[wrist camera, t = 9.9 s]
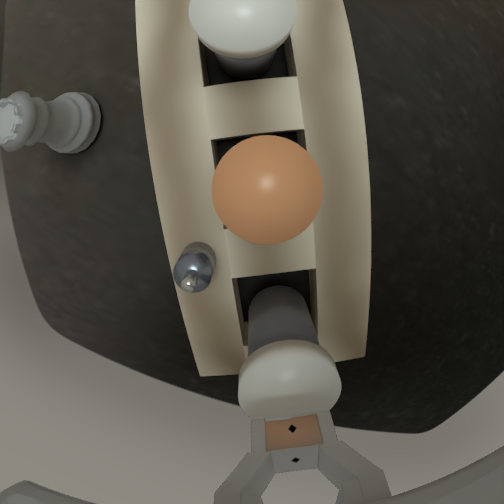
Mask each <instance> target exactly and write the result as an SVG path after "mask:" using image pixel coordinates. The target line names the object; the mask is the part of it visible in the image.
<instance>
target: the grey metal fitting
mask: <svg viewBox="0 0 504 504" xmlns="http://www.w3.org/2000/svg"><path fill="white" fill-rule="evenodd" d="M215 262H216V255H215V252H214V250H213V249H212V248H211V247H210V246H209V245H208V244H206V243H203V242H192V243H190V244H188V245H187V246H186V247H185V248H184V250H183V252H182V254H181V255H180V257H179V259H178V261H177V263H176V265H175V266H174V269H173V278H174V281H175V283H176V284H177V285H178V287H180V288H181V289H182V290H183V291H185V292H187V293H198V292H201V291H203V290H205V289H206V288H207V287H208V286H209V284H210V282H211V278H212V274H213V270H214V266H215Z"/></svg>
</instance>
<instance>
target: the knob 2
mask: <svg viewBox="0 0 504 504" xmlns="http://www.w3.org/2000/svg"><path fill="white" fill-rule="evenodd" d="M322 196H323V183H322V177H321V174H320V171H319V169H318V166H317V164H316V163H315V161H314V159H313V158H312V157H311V155H310V154H309V153H308V152H307V151H306V150H305V149H304V148H303V147H301V146H300V145H298V144H297V143H295V142H293V141H291V140H289V139H286V138H284V137H279V136H273V135H261V136H255V137H251V138H248V139H246V140H243V141H241V142H239V143H238V144H236V145H235V146H233V147H232V148H231V149H230V150H229V151H228V152H227V153H226V154H225V155H224V156H223V157H222V159H221V160H220V162H219V163H218V165H217V168H216V170H215V173H214V176H213V180H212V200H213V204H214V207H215V210H216V213H217V214H218V216H219V218H220V220H221V221H222V222H223V224H224V225H225V226H226V227H227V228H228V229H229V230H230V231H231V232H232V233H234V234H235V235H237V236H238V237H240V238H242V239H244V240H246V241H249V242H252V243H257V244H265V245H268V244H278V243H282V242H285V241H288V240H290V239H293V238H294V237H296V236H298V235H299V234H301V233H302V232H303V231H304V230H306V228H307V227H308V226H309V225H310V224H311V223H312V222H313V220H314V219H315V217H316V215H317V213H318V211H319V208H320V206H321V202H322Z"/></svg>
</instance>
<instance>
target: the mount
mask: <svg viewBox="0 0 504 504" xmlns="http://www.w3.org/2000/svg"><path fill="white" fill-rule="evenodd" d="M296 2H297V15H296V19H295V22H294V25H293V27H292V30H291V32H290V34H289V36H288V38H287V39H286V40H285V41H284V49H285V55H286V62H287V68H288V75H289V77H280V78H268V79H258V80H249V81H241V82H233V83H226V84H219V85H213V86H209V78H208V70H207V62H206V53H205V45H204V44H203V43H202V42H201V40H200V39H199V38H198V36H197V34H196V32H195V30H194V28H193V26H192V25H191V22H190V19H189V3H190V0H135V5H136V31H137V48H138V62H139V74H140V84H141V94H142V103H143V112H144V120H145V128H146V135H147V143H148V149H149V156H150V163H151V169H152V175H153V181H154V187H155V192H156V198H157V203H158V209H159V214H160V219H161V224H162V229H163V234H164V239H165V243H166V248H167V253H168V257H169V262H170V266H171V270H172V275H173V269H174V266H175V265H176V263H177V261H178V259H179V257H180V255H181V254H182V252H183V250H184V248H185V247H186V246H187V245H188V244H190V243H192V242H203V243H206V244H208V245H209V246H210V247H211V248H212V249H213V250H214V252H215V255H216V262H215V266H214V270H213V274H212V278H211V282H210V284H209V286H208V287H207V288H206V289H205V290H203V291H201V292H198V293H187V292H185V291H183V290H182V289H181V288H180V287H178V285H177V284H176V283H175V281H174V283H175V287H176V291H177V295H178V299H179V303H180V307H181V311H182V315H183V319H184V322H185V326H186V330H187V333H188V337H189V340H190V344H191V347H192V351H193V354H194V358H195V361H196V364H197V368H198V371H199V374H200V376H217V375H233V374H239V372H240V369H241V367H242V364H243V363H244V361H245V360H246V359H247V358H248V322H244V319H243V313H242V306H241V300H240V294H239V288H238V282H237V278H240V277H248V276H257V275H266V274H274V273H282V272H291V271H299V270H307V269H308V270H309V288H310V310H311V314H310V317H311V320H312V323H313V326H314V329H315V332H316V335H317V338H318V341H319V345H320V346H321V347H323V348H324V349H325V350H327V351H328V352H329V354H330V355H331V356H332V358H333V360H334V362H338V361H344V360H349V359H355V358H360V357H365V350H366V340H367V329H368V316H369V300H370V277H371V202H370V180H369V164H368V151H367V140H366V130H365V121H364V112H363V104H362V97H361V90H360V83H359V77H358V71H357V65H356V59H355V54H354V49H353V44H352V39H351V34H350V29H349V25H348V20H347V16H346V12H345V8H344V4H343V0H296ZM286 132H296V134H297V143H298V145H300V146H301V147H303V148H304V149H305V150H306V151H307V152H308V153H309V154H310V155H311V157H312V158H313V159H314V161H315V163H316V164H317V166H318V169H319V171H320V174H321V177H322V183H323V196H322V202H321V206H320V208H319V211H318V213H317V215H316V217H315V219H314V220H313V222H312V223H311V224H310V225H309V226H308V227H307V228H306V230H304V231H303V232H302V233H301V234H299V235H298V236H296V237H294V238H293V239H290V240H288V241H285V242H282V243H278V244H268V245H265V244H257V243H252V242H249V241H246V240H244V239H242V238H240V237H238V236H237V235H235V234H234V233H232V232H231V231H230V230H229V229H228V228H227V227H226V226H225V225H224V224H223V222H222V221H221V220H220V218H219V216H218V214H217V213H216V210H215V207H214V204H213V200H212V180H213V176H214V173H215V170H216V168H217V165H218V163H219V162H220V161H219V154H218V146H217V141H219V140H226V139H233V138H241V137H248V136H257V135H266V134H275V133H286ZM173 279H174V278H173Z"/></svg>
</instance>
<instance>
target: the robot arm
mask: <svg viewBox="0 0 504 504" xmlns="http://www.w3.org/2000/svg"><path fill="white" fill-rule="evenodd" d="M314 468H318V470H319V471H320V472H321V473H322V474H323V475H324V476H325V477H326V478H327V479H329V480H330V481H331V482H332V483H333V484H334V485H335V486H336V487H337V488H338V489H339V492H338V496H337V500H336V504H504V446H503V447H501V448H499V449H498V450H496V451H494V452H492V453H491V454H489V455H487V456H485V457H484V458H482V459H480V460H478V461H476V462H474V463H472V464H470V465H468V466H467V467H465V468H462V469H460V470H458V471H456V472H454V473H452V474H449V475H447V476H445V477H443V478H440V479H438V480H436V481H433V482H431V483H428V484H426V485H423V486H420V487H418V488H415V489H412V490H410V491H407V492H404V493H401V494H398V495H395V496H391V493H390V490H389V487H388V484H387V481H386V478H385V475H384V472H383V470H382V469H380V468H378V467H377V466H376V465H374V464H373V463H372V462H370V461H369V460H367V459H366V458H365V457H363V456H362V455H360V454H359V453H358V452H356V451H355V450H354V449H352V448H351V447H349V446H348V445H347V444H345V443H344V442H343V441H338V439H337V435H336V432H335V428H334V424H333V421H332V417H331V413H330V411H329V410H325V411H319V412H311V413H305V414H299V415H292V416H288V417H277V418H265V419H252V421H251V453H247V454H246V455H245V457H244V458H243V459H242V460H241V462H240V463H239V464H238V465H237V467H236V468H235V469H234V470H233V472H232V473H231V474H230V475H229V476H228V478H227V479H226V480H225V481H224V482H223V483H222V485H221V486H220V487H219V488H218V489H217V490H216V492H215V494H214V504H263V501H262V498H261V495H262V494H263V492H264V491H265V489H266V488H267V486H268V484H269V483H270V481H271V480H272V478H273V476H274V474H275V473H283V472H290V471H298V470H306V469H314ZM0 504H95V503H92V502H88V501H84V500H81V499H78V498H75V497H71V496H68V495H65V494H62V493H60V492H57V491H54V490H51V489H48V488H46V487H43V486H41V485H38V484H36V483H34V482H31V481H25V480H24V481H22V482H19V483H17V484H15V485H12V486H11V487H9V488H7V489H5V490H3V491H2V492H1V493H0Z"/></svg>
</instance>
